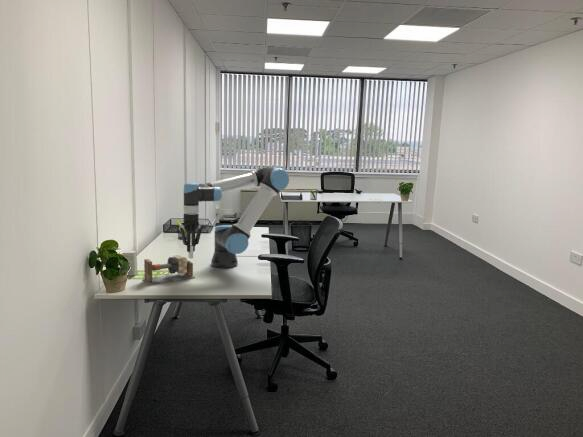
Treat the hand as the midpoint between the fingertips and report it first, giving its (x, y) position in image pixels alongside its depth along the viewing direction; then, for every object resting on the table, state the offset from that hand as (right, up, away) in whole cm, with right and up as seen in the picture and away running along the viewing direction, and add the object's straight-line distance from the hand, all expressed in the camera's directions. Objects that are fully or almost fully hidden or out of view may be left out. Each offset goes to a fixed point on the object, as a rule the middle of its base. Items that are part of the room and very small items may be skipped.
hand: (190, 257), depth 226 cm
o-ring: (-9, -7, -5) cm, 12 cm away
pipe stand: (-10, -10, -5) cm, 15 cm away
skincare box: (-32, -9, 0) cm, 33 cm away
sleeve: (-5, -7, -2) cm, 9 cm away
